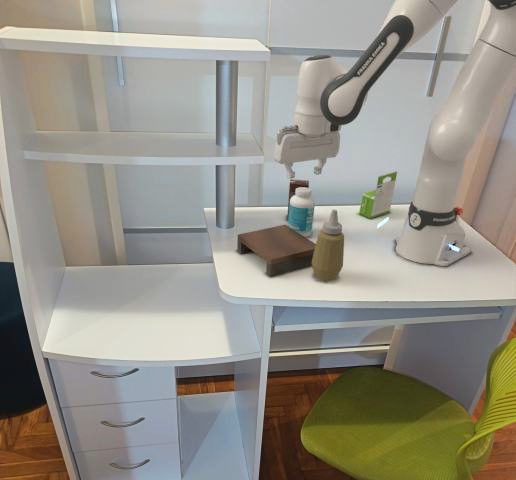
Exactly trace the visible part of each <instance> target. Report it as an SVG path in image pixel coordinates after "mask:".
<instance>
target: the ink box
mask: <svg viewBox="0 0 516 480" xmlns="http://www.w3.org/2000/svg"><path fill="white" fill-rule="evenodd" d="M397 176H398V171H397V170H396V171H392V172H389V173H385V174H382V175H379V176H377V177H378V178H377V183H376V189H374V190H370V191H367V192H364V193H362V196H361V202H360V206H359V211H358V214H359V215H361V216H363V217H366V218H367V219H370V220H371V219H374V218H377V217H381V216H384V215H386V214H389V213H390V212H391V207H392V202H393V197H394V193H395V192H394V191H395V187H396V181H397ZM387 178H390V180H389V181H385V182H384V180H385V179H387Z"/></svg>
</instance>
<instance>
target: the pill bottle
mask: <svg viewBox="0 0 516 480" xmlns="http://www.w3.org/2000/svg"><path fill="white" fill-rule="evenodd" d="M312 191H313V190H312V189H311V188H310V187H309V188H305V187H299V188H296V191H295V194H296V195H294V196H293V197H291V199H290V205H289V217H288V220H287V226H288V227H290V228H292V229H293V230H295V231H296V232H298V233H299V234H301V235H303V236H304V237H306V238H308V237H310V236H311V235H312V232H313V224H314V215H315V207H316V200H315V198H313V196H312V195H313V194H312Z"/></svg>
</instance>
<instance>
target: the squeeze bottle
mask: <svg viewBox="0 0 516 480" xmlns="http://www.w3.org/2000/svg"><path fill="white" fill-rule="evenodd" d="M338 215H339V214H338V210H337V209H331V213H330V215H329V217H328V221H325V222H324V223H323V224H322V229H321V230H320V231H319V232H318V233H317V237H316V242H315V244H316V246H315V250H314V254H313V259H312V266H311V267H312V271H313V275H314V277H315V279H317V280H319V281H322V282H333V281H335V280H337V278H338V276H339V275H340V272H341V271H342V269H343V266H344V256H345V255H344V254H345V253H344V252H345V234H344V233H343V232H342V229H343V225H342V223H340V222H339V216H338Z"/></svg>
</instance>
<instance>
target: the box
mask: <svg viewBox="0 0 516 480" xmlns="http://www.w3.org/2000/svg"><path fill="white" fill-rule="evenodd" d="M299 187H305V188H309V189H310V181H309V180H304V179H293V178H291V179H289V187H288V188H289V189H288V201H287V202H288V203H287V217H286V220H287V221H288V217H289V205H290V199H291V197H293V196H294V195H296V194H295V191H296V188H299Z"/></svg>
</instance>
